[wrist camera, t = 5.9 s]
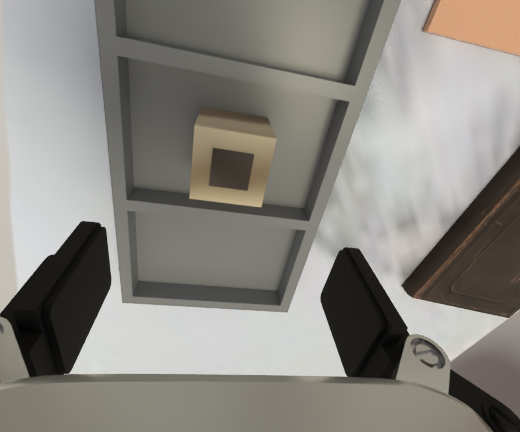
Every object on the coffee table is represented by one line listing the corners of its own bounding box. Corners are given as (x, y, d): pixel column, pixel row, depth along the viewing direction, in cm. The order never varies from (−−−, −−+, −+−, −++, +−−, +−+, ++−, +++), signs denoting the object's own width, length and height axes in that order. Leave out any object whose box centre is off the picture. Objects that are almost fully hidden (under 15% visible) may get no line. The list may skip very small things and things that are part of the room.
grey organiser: (92, -258, 13) (65, -314, 11) (428, -134, 16) (458, -158, 14) (129, 284, 30) (122, 302, 28) (283, 294, 33) (287, 312, 31)
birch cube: (201, 106, 21) (194, 125, 17) (268, 117, 22) (276, 139, 18) (196, 168, 24) (189, 199, 19) (256, 177, 24) (261, 207, 20)
